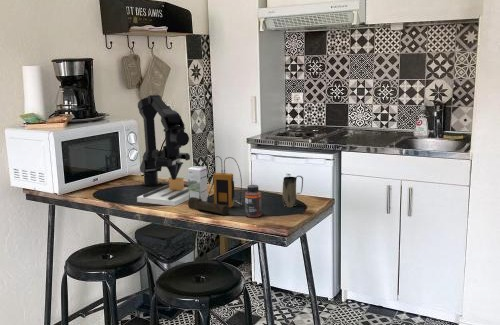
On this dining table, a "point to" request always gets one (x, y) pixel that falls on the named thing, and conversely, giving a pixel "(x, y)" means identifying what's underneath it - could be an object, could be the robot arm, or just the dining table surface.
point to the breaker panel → (165, 196)
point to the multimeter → (224, 187)
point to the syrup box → (197, 182)
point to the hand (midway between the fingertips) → (173, 179)
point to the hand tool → (207, 206)
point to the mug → (290, 191)
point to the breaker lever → (176, 184)
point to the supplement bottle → (253, 201)
